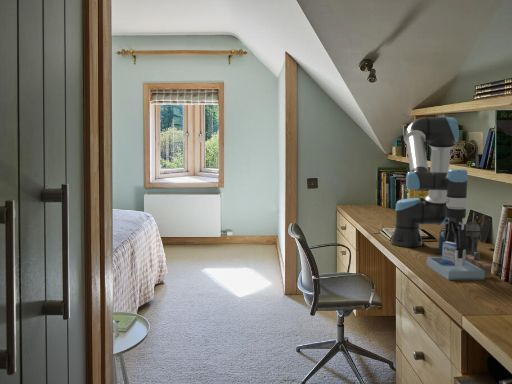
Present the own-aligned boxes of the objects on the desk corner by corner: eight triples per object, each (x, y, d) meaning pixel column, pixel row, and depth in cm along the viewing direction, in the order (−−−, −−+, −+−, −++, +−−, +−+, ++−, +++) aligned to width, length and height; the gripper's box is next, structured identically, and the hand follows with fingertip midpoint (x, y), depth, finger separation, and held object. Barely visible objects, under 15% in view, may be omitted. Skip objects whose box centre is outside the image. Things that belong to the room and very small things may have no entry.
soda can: (446, 256, 228) (447, 231, 227) (435, 253, 234) (436, 228, 233) (457, 255, 231) (458, 229, 230) (446, 252, 237) (447, 227, 236)
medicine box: (441, 263, 203) (442, 242, 202) (446, 261, 206) (447, 240, 205) (460, 266, 198) (461, 245, 197) (465, 264, 201) (466, 243, 200)
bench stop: (462, 266, 212) (463, 247, 211) (469, 266, 212) (470, 247, 211) (483, 278, 194) (484, 258, 193) (490, 278, 194) (491, 257, 193)
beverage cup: (459, 254, 233) (461, 212, 230) (466, 252, 237) (468, 210, 235) (474, 257, 227) (476, 214, 225) (482, 255, 232) (484, 212, 229)
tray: (426, 265, 213) (427, 257, 213) (459, 265, 214) (459, 257, 213) (448, 280, 191) (448, 271, 191) (484, 279, 192) (484, 270, 191)
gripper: (436, 204, 210) (434, 256, 212) (458, 211, 189) (455, 270, 191) (453, 204, 210) (451, 256, 213) (478, 211, 189) (475, 269, 192)
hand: (453, 263), depth 202 cm, fingers closed on medicine box, 9 cm apart
